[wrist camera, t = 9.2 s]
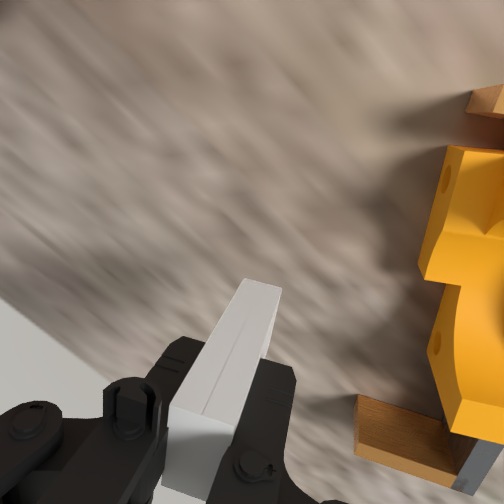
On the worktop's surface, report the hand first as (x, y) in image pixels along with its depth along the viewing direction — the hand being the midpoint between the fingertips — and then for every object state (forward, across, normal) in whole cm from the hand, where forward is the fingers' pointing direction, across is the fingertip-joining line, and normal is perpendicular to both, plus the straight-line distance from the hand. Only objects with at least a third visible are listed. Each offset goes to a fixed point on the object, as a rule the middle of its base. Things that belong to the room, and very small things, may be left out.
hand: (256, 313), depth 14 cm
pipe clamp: (+9, +10, +1) cm, 13 cm away
